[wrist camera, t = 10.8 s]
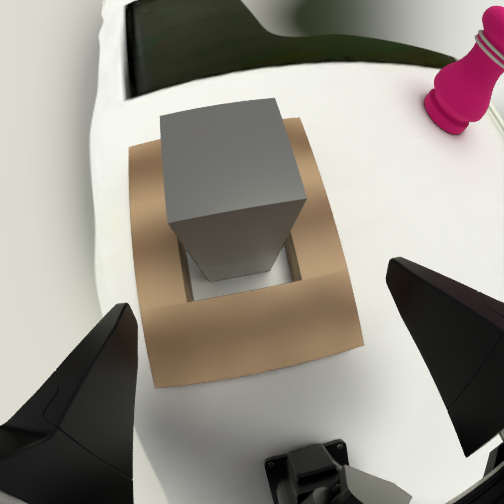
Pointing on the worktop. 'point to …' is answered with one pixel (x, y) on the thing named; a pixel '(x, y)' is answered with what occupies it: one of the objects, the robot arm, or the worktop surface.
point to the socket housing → (245, 303)
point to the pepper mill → (469, 78)
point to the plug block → (230, 185)
